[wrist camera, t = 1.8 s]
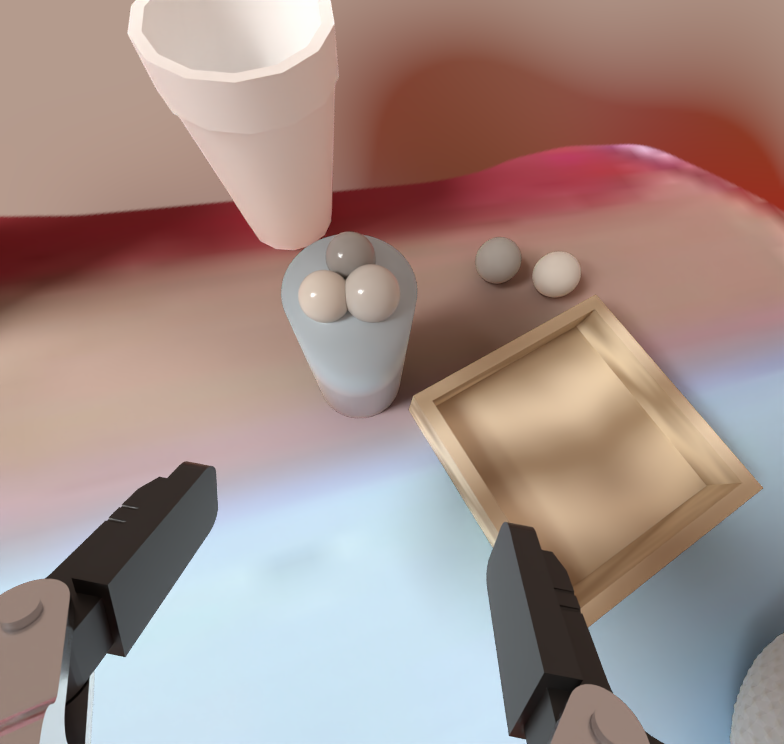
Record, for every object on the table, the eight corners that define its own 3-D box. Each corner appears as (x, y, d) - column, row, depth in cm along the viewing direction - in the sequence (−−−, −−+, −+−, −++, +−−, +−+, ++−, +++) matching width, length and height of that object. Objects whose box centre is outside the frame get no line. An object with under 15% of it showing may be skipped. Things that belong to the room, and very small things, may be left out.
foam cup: (230, 177, 31) (136, -39, 19) (343, 167, 32) (322, -45, 20) (231, 274, 28) (120, 89, 16) (356, 261, 29) (343, 76, 17)
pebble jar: (305, 364, 26) (246, 238, 14) (375, 329, 27) (375, 186, 15) (343, 433, 24) (312, 359, 12) (415, 393, 25) (450, 290, 13)
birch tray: (408, 409, 25) (413, 395, 22) (572, 318, 28) (595, 294, 25) (539, 625, 21) (567, 643, 18) (714, 491, 24) (763, 488, 21)
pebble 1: (462, 266, 29) (472, 238, 26) (496, 250, 30) (509, 220, 27) (486, 298, 28) (499, 273, 25) (520, 281, 29) (537, 253, 26)
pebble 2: (517, 280, 29) (533, 252, 26) (549, 263, 29) (569, 234, 26) (543, 312, 28) (563, 288, 25) (576, 294, 28) (600, 268, 25)
